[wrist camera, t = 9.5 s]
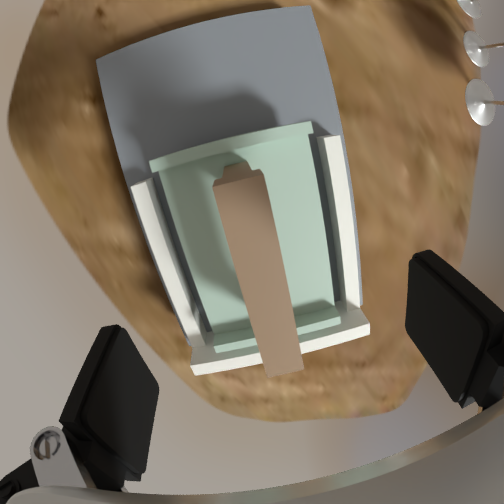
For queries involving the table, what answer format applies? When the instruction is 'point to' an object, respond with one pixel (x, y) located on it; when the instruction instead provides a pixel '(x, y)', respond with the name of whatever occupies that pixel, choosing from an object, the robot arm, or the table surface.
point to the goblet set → (477, 50)
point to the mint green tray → (254, 239)
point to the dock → (227, 125)
